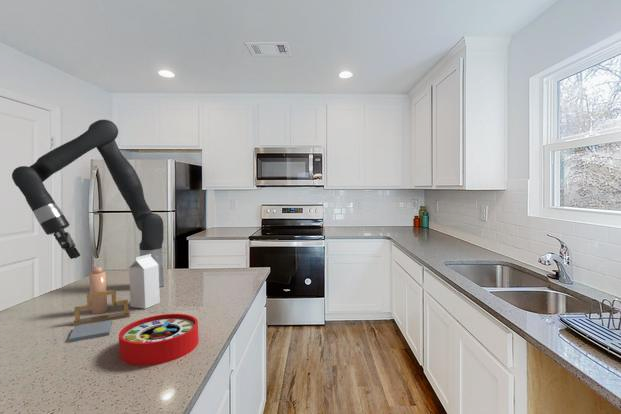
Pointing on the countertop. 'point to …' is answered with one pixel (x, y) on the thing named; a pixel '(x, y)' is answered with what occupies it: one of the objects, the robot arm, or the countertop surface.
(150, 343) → the toy clock
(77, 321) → the golden stepped frame
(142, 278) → the milk carton
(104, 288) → the peach bottle
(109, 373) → the countertop surface
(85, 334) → the pad
